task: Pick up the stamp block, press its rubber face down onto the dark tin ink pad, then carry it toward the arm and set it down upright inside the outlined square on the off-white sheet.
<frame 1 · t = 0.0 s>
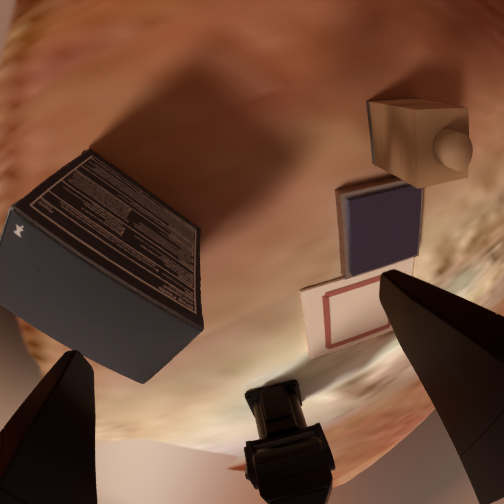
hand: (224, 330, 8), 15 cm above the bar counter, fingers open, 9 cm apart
stamp: (395, 129, 21), on the bar counter
small box: (122, 219, 21), on the bar counter
print sheet: (360, 310, 29), on the bar counter
ink pad: (380, 223, 25), on the bar counter
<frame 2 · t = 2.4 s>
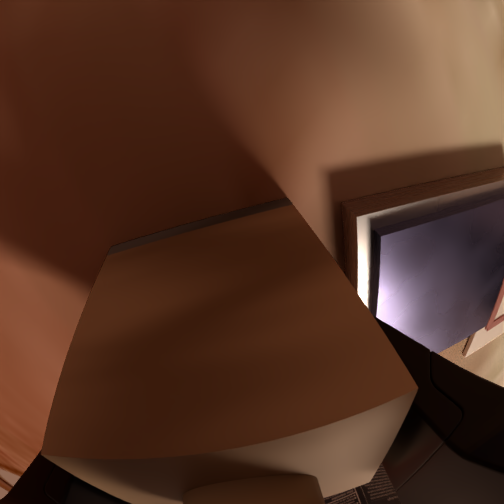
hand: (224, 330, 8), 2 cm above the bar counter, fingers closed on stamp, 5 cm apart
stamp: (220, 294, 9), on the bar counter, touching gripper
small box: (314, 469, 21), on the bar counter
ink pad: (433, 275, 10), on the bar counter
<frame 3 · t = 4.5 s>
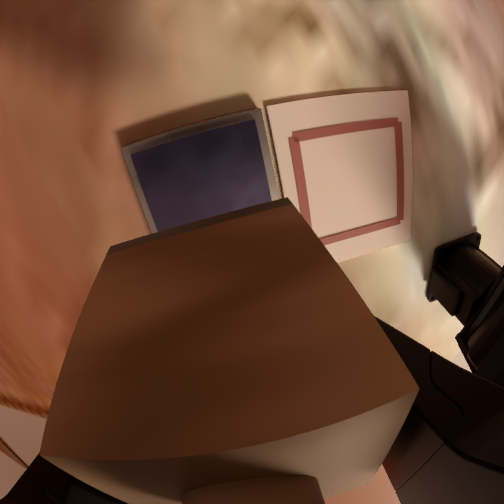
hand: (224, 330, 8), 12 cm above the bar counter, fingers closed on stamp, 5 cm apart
stamp: (219, 294, 9), point 11 cm above the bar counter, touching gripper
print sheet: (353, 181, 19), on the bar counter
ink pad: (206, 186, 18), on the bar counter
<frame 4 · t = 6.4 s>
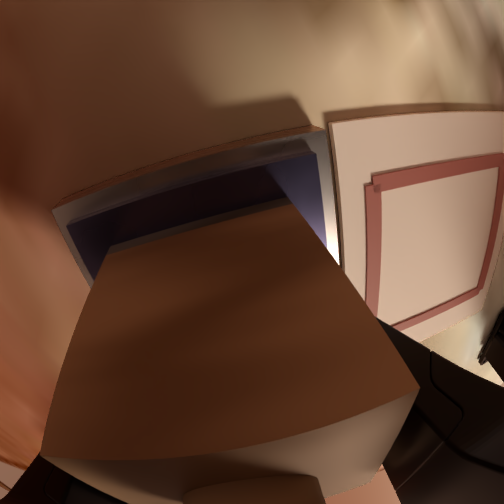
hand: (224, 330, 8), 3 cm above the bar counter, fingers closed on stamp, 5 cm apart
stamp: (219, 294, 9), point 1 cm above the bar counter, touching gripper, ink pad
print sheet: (439, 247, 12), on the bar counter
ink pad: (215, 269, 10), on the bar counter
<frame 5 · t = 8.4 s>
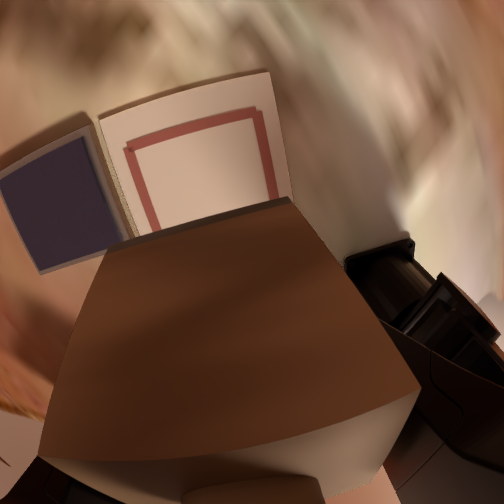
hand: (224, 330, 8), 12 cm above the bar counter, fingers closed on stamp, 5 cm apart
stamp: (219, 293, 9), point 10 cm above the bar counter, touching gripper
print sheet: (207, 186, 18), on the bar counter
ink pad: (62, 203, 17), on the bar counter
when the fingers open (3 cm above the bar counter, at t = 10.3 s): stamp drops 1 cm, resting on print sheet.
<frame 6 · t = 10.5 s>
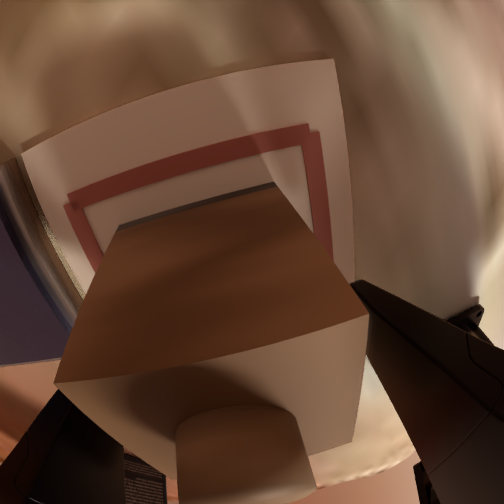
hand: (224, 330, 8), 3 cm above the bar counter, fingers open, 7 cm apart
stamp: (215, 269, 10), resting on print sheet
small box: (111, 466, 20), on the bar counter
print sheet: (215, 265, 11), on the bar counter
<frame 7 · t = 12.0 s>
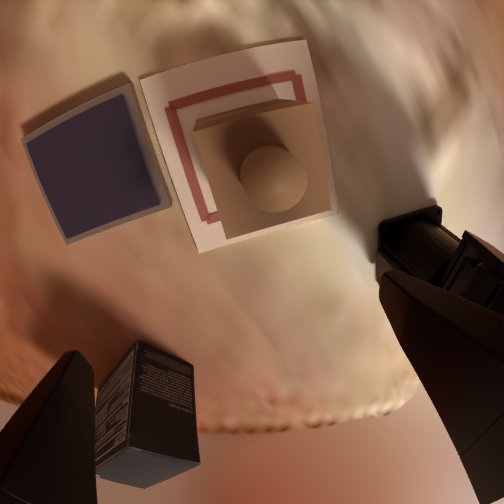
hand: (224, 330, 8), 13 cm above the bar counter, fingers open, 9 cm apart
stamp: (248, 147, 18), resting on print sheet
small box: (142, 378, 27), on the bar counter
print sheet: (248, 146, 18), on the bar counter
ink pad: (95, 166, 17), on the bar counter
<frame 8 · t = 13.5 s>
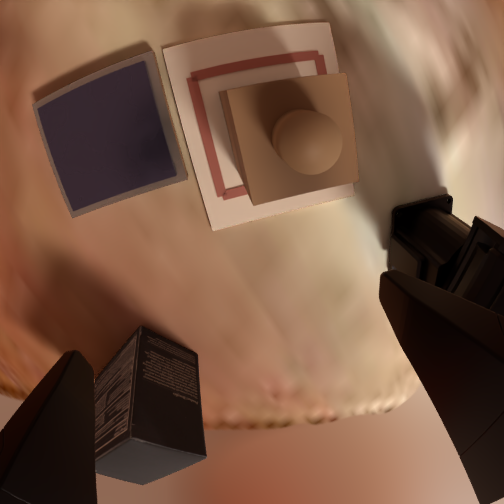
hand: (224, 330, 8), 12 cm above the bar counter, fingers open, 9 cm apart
stamp: (269, 122, 17), resting on print sheet
small box: (143, 367, 26), on the bar counter
print sheet: (268, 122, 17), on the bar counter
ink pad: (108, 135, 16), on the bar counter
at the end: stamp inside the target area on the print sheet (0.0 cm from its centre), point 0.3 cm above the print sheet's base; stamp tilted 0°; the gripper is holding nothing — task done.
